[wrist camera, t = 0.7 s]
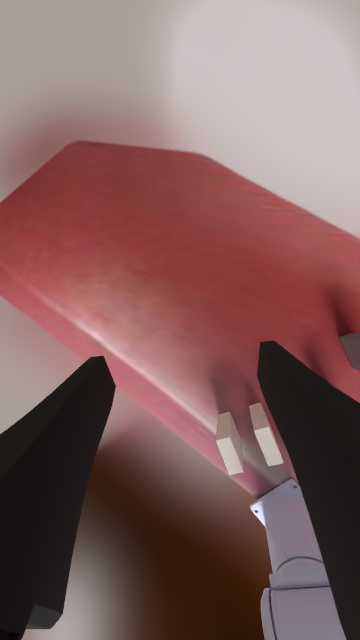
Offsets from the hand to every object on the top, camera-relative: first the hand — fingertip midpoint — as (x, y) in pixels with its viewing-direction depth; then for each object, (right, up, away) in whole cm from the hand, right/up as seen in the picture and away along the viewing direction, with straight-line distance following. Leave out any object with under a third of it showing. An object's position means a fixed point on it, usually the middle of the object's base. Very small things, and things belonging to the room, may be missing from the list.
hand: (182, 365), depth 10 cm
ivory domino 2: (+12, -13, +22) cm, 28 cm away
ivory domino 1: (+8, -14, +23) cm, 28 cm away
